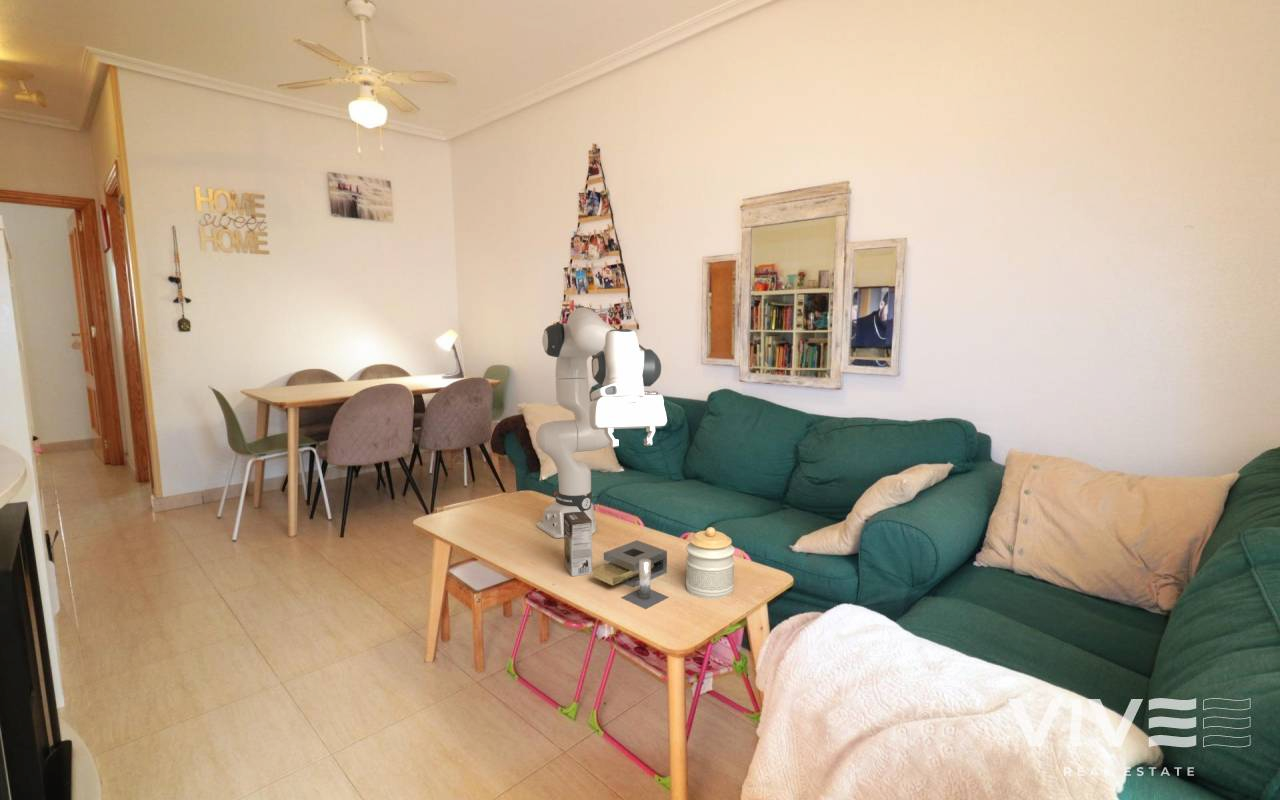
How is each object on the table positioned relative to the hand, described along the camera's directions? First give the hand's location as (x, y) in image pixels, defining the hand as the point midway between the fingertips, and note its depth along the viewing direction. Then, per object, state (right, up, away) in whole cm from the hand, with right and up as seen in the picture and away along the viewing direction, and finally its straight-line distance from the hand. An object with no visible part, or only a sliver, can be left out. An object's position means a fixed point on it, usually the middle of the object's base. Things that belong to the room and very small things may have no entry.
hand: (631, 446), depth 144 cm
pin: (+3, -40, +9) cm, 41 cm away
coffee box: (-16, -39, +28) cm, 50 cm away
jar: (+21, -40, +15) cm, 48 cm away
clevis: (-1, -39, +22) cm, 45 cm away
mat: (+3, -41, +9) cm, 42 cm away
